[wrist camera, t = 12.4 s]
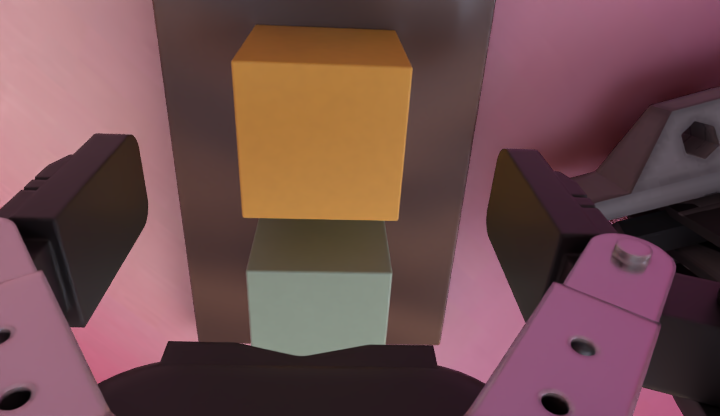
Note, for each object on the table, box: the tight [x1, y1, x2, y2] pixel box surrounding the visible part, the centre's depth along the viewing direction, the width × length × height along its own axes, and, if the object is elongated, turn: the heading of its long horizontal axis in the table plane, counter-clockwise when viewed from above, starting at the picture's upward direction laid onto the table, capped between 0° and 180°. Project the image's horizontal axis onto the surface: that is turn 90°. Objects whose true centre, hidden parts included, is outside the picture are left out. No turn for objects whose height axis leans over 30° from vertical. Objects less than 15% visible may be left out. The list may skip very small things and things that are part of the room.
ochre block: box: [231, 25, 413, 221], centre depth 17 cm, size 5×5×5 cm
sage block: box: [246, 218, 392, 356], centre depth 20 cm, size 5×5×5 cm
